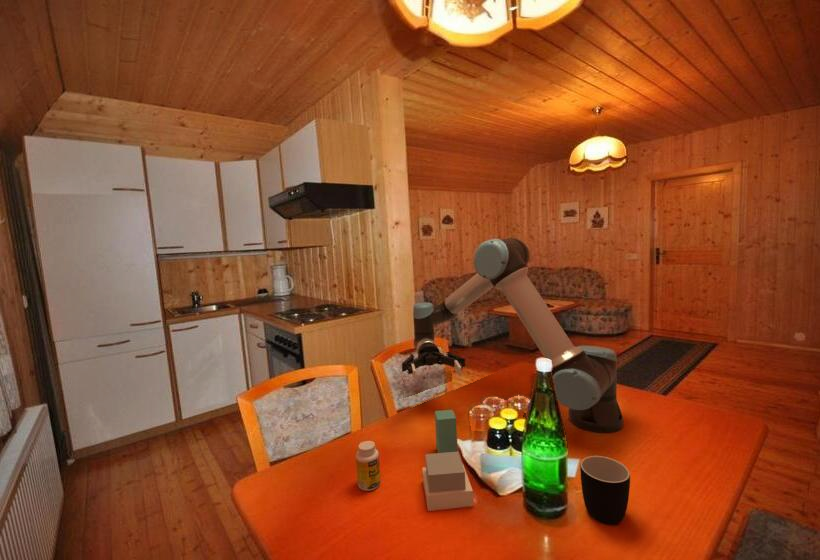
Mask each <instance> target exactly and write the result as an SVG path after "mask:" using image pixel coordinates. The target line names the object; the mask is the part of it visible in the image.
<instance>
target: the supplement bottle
mask: <svg viewBox="0 0 820 560" xmlns="http://www.w3.org/2000/svg"><path fill="white" fill-rule="evenodd" d="M355 465H356V477H357V486H358V488H359V490H362V491H365V492H369V491H370V492H371V491H374V490H376V489H377V488H378V487H379V486H380V485H381V470H380V469H381V467H380V453H379V451H378V449H376V444H375V442H374V441H371V440H365V441H361V442H360V443H359V444H358V451H357V452H356V454H355Z"/></svg>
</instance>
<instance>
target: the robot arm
mask: <svg viewBox="0 0 820 560" xmlns="http://www.w3.org/2000/svg"><path fill="white" fill-rule="evenodd" d="M530 255H531V253H530V250H529V247H528V246H527V244H526V243H525V242H523V241H522V240H521V239H519V238H513V237H510V238H499V239H498V238H491V239H489V240H486V241H483V242H482V243H480V244H479V245H478V246H477V247H476V250H475V252H474V256H473V267H474V270H475V272H476V273H475V275H473V276H471V278H469V279H468V280H467V281H466V282H464V283H463V284H462V285H461V286H459V287H458V288H457V289H456V290H455V291H453V292H452V293H450V295H449V296H447V297H445V299H444V300H442V301H441V302H440V303H437V304H434V305H433V303H431V302H425V301H424V302H417V303H415V304H414V305H413V309H412V310H413V311H412V313H413V314H412V317H413V329H414V330H413V336H414V339H413V346H414V349H415V351H416V353H417V356H416V355H414V354H413V353H410V354H409V356H408V357H407V358H406V359H405V360H404V361H403V362H402V363H401V371H402V372H406V371H407V375H412V379H413V381H415V380H417V369H418V368H420V367H425V366H427V367H428V366H429V367H431V366H434V365H439V366H442V365H445V366H449V367H453V368H454V370H455V372H456V374H457V375H458V376H459V377H462V375H463V373H462V371H463V368H464V367H466V358H464V357H463V356H462V357H461V356H460V355H456V354H455V353H452V352H450V351H446V352H445V353H442V352H441V351H440V349H439V347H438V345H437V344H436V342H435V326H437V325H440V324H442V323H446V322H451V321H453V320H454V319H456V318H457V317H458V315H459V313H461V312H462V311H464V309H466V308H467V307H469V306H470V305H471V304H473V303H474V302H475V301H476V300H478V299H479V298H481V297H483V296H484V295H485V294H486V293H487V292H489V291H490V290H492V289H493V288H494V289H495V290H499V291H502V292H503V295H504V296H505V297H506V299H507V301H508V302H509V304H510V305H511V307H512V308H513V310H514V311H515V314H517V316H518V318H519V320H520V321H521V323H522V324H523V325H524V327H525V329H526V331H527V332H528V334H529V336H530V337H531V338H532V340H533V342H534V343H535V345H536V346H537V348H538V349H539V352H540V353H541V354H542V355H543V357H544V359H545V358H549V359H551V360H552V364H553V370H552V378H553V383H554V389H555V393H556V397H557V399H556V400H557V401H558V402H559V403H560V404H561V405H563V406H564V407H566V408H568V410H567V411H568V413H567V414H568V415H567V416H568V420H569V421H570V422H571V423H572V424H573V425H575V426H576V427H578V428H581V429H582V430H585V431H590V432H595V433H602V434H604V433H605V434H606V433H608V434H609V433H615V432H617V431H620V430H621V429H623V427H624V416H623V413H622V411H621V407H620V405H619V403H618V399H617V397H618V396H617V386H618V385H617V382H618V380H617V379H618V378H617V374H618V372H617V371H618V370H617V369H618V366H617V365H618V364H617V363H618V360H617V359H618V358H617V353H616V351H614V350H613V349H612V348H607V347H603V346H602V347H601V346H595V345H594V346H593V345H578V346H575V345H574V344H573V343H572V341H571V340H570V338H569V337H568V335H567V333H566V332H565V331H564V329H563V328H562V326H561V325H560V323H559V321H558V320H557V318H556V317H555V315H554V314H553V313H552V312H553V311H551V310H550V307H548V305H547V304H546V301H545V300H544V299H543V298H542V296H541V295H540V293H539V291H538V290H537V288H536V287H535V285H534V284H533V282H532V281H531V279H530V278H529V277H528V272H529V267H528V263H529V262H530V258H531V257H530Z"/></svg>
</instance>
